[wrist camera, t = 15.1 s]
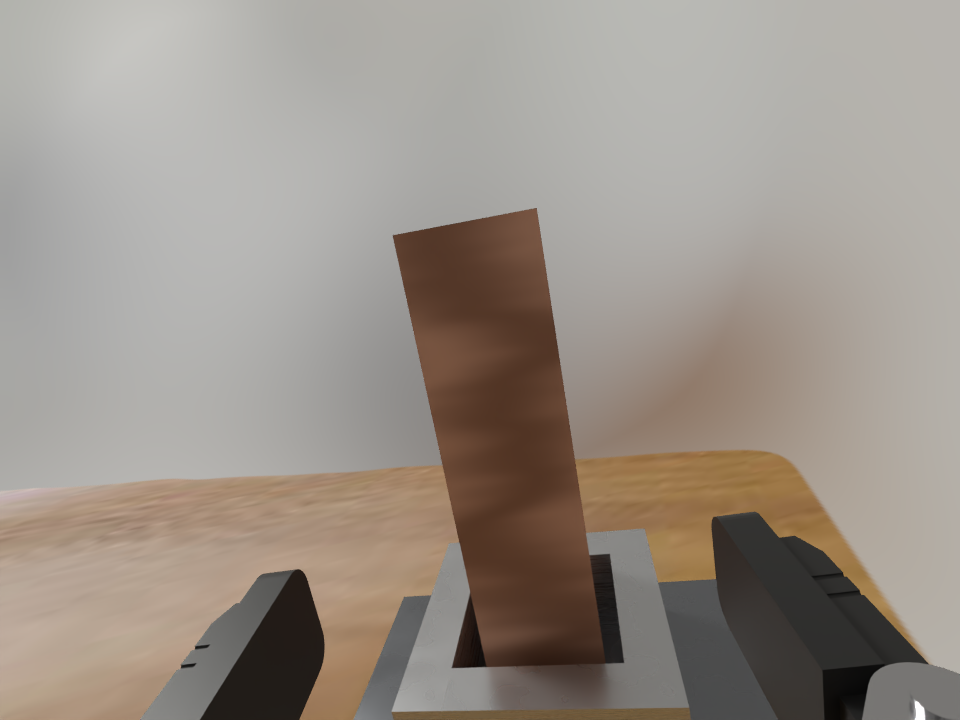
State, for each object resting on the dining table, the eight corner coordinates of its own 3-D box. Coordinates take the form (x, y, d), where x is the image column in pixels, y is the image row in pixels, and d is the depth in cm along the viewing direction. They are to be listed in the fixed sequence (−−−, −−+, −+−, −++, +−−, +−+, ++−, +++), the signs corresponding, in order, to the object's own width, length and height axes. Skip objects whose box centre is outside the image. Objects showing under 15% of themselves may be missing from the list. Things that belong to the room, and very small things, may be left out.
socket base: (303, 884, 17) (259, 761, 16) (408, 613, 28) (387, 529, 27) (865, 914, 14) (862, 765, 13) (729, 596, 25) (722, 502, 24)
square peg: (503, 744, 19) (392, 235, 15) (505, 656, 23) (418, 231, 19) (616, 735, 19) (536, 208, 14) (599, 647, 23) (532, 210, 18)
